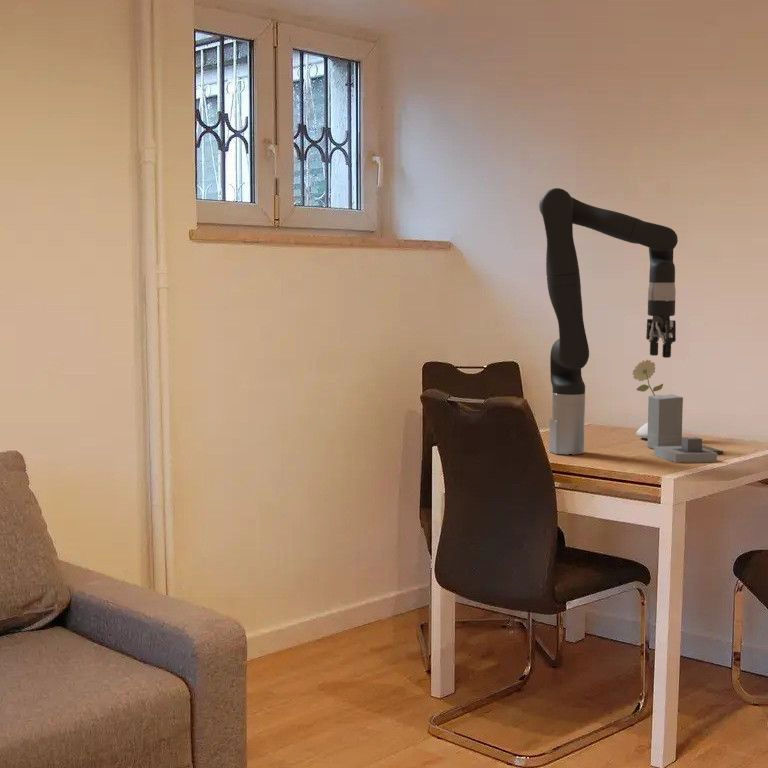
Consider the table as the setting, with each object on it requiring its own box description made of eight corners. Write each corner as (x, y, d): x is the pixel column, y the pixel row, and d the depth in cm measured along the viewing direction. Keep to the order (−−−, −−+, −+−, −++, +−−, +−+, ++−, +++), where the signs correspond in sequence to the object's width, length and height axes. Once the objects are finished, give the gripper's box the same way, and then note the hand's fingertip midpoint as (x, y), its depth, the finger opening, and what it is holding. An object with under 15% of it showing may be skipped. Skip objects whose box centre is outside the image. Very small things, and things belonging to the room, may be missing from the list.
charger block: (687, 460, 308) (687, 438, 307) (681, 458, 312) (681, 436, 312) (701, 460, 309) (702, 438, 308) (695, 458, 313) (695, 436, 312)
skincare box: (670, 446, 335) (671, 393, 333) (683, 449, 328) (685, 396, 326) (645, 447, 332) (646, 394, 331) (658, 451, 325) (659, 397, 324)
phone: (723, 454, 319) (723, 450, 319) (703, 454, 318) (703, 451, 318) (703, 448, 331) (703, 444, 331) (684, 448, 330) (684, 445, 330)
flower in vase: (668, 436, 356) (670, 358, 354) (677, 441, 345) (679, 361, 342) (627, 436, 356) (629, 358, 354) (635, 441, 345) (636, 360, 343)
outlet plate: (675, 462, 304) (676, 453, 304) (654, 455, 318) (654, 446, 317) (716, 461, 306) (717, 452, 306) (693, 454, 320) (693, 445, 320)
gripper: (638, 298, 320) (637, 355, 322) (659, 299, 306) (658, 358, 308) (663, 298, 322) (661, 354, 323) (685, 299, 308) (683, 358, 309)
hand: (660, 356), depth 315 cm, fingers open, 8 cm apart
